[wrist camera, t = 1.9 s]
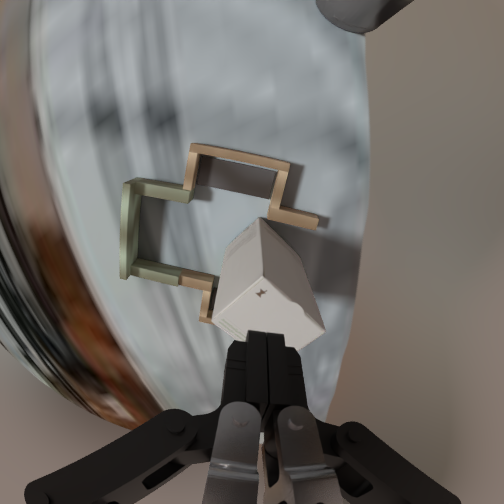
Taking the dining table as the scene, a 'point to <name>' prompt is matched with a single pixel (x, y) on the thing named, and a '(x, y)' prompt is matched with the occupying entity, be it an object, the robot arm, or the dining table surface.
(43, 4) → the dining table surface
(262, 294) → the skincare box
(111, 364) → the dining table surface
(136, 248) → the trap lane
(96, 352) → the dining table surface
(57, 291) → the dining table surface
